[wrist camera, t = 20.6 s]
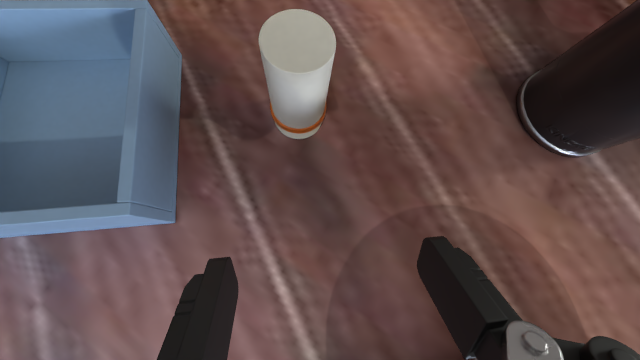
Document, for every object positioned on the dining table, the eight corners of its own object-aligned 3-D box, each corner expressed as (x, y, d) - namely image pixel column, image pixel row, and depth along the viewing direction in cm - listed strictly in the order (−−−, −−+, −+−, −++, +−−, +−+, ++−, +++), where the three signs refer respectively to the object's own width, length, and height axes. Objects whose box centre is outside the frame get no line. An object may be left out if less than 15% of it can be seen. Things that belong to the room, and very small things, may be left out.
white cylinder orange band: (289, 85, 24) (284, -6, 15) (333, 109, 23) (352, 30, 15) (262, 124, 23) (239, 49, 14) (307, 149, 22) (312, 90, 14)
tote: (9, 59, 22) (-85, 0, 17) (182, 55, 24) (147, -1, 18) (-33, 240, 18) (-171, 240, 13) (175, 222, 20) (129, 215, 14)
